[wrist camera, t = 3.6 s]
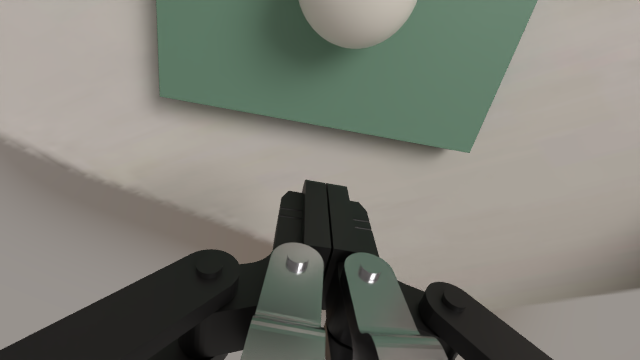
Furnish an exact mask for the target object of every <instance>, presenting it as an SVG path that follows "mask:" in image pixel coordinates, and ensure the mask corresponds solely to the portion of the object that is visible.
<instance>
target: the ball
mask: <svg viewBox="0 0 640 360" xmlns="http://www.w3.org/2000/svg"><path fill="white" fill-rule="evenodd" d="M416 3H417V0H299V4H300V7H301V9H302V12H303V14H304V16H305V18H306V20H307V21H308V23H309V24H310V26H311V27H312V28H313V29H314V30H315V31H316V32H317V33H318V34H319V35H320V36H321V37H322V38H324V39H325V40H327V41H328V42H330V43H332V44H335V45H337V46H340V47H344V48H350V49H361V48H368V47H371V46H375V45H377V44H379V43H381V42H383V41H385V40H386V39H388V38H389V37H391V36H392V35H393V34H395V33H396V32H397V31H398V30H399V29H400V28H401V27H402V26H403V24H404V23H405V22H406V21H407V19H408V18H409V16H410V15H411V13H412V11H413V9H414V7H415V5H416Z"/></svg>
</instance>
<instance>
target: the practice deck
mask: <svg viewBox="0 0 640 360" xmlns="http://www.w3.org/2000/svg"><path fill="white" fill-rule="evenodd" d="M537 1H538V0H417V3H416V5H415V7H414V9H413V11H412V13H411V15H410V16H409V18H408V19H407V21H406V22H405V23H404V24H403V26H402V27H401V28H400V29H399V30H398V31H397V32H396V33H395V34H393V35H392V36H391V37H389V38H388V39H386V40H385V41H383V42H381V43H379V44H377V45H375V46H371V47H368V48H361V49H350V48H344V47H340V46H337V45H335V44H332V43H330V42H328V41H327V40H325V39H324V38H322V37H321V36H320V35H319V34H318V33H317V32H316V31H315V30H314V29H313V28H312V27H311V26H310V24H309V23H308V21H307V20H306V18H305V16H304V14H303V12H302V9H301V7H300V4H299V0H156V8H157V35H158V62H159V89H160V97H166V98H171V99H177V100H182V101H188V102H193V103H199V104H204V105H210V106H215V107H221V108H226V109H232V110H237V111H242V112H248V113H253V114H259V115H264V116H270V117H275V118H281V119H286V120H292V121H297V122H303V123H308V124H314V125H319V126H325V127H330V128H335V129H341V130H346V131H352V132H357V133H363V134H368V135H374V136H379V137H385V138H390V139H396V140H401V141H407V142H412V143H418V144H423V145H428V146H434V147H439V148H445V149H450V150H456V151H461V152H467V153H470V151H471V148H472V146H473V144H474V142H475V139H476V137H477V135H478V133H479V130H480V128H481V126H482V124H483V122H484V119H485V117H486V115H487V113H488V110H489V108H490V106H491V104H492V101H493V99H494V97H495V95H496V92H497V90H498V88H499V86H500V83H501V81H502V79H503V77H504V74H505V72H506V70H507V68H508V66H509V63H510V61H511V59H512V57H513V54H514V52H515V50H516V48H517V45H518V43H519V41H520V39H521V36H522V34H523V32H524V30H525V27H526V25H527V23H528V21H529V18H530V16H531V14H532V12H533V9H534V7H535V5H536V3H537Z"/></svg>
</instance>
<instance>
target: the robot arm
mask: <svg viewBox="0 0 640 360" xmlns="http://www.w3.org/2000/svg"><path fill="white" fill-rule="evenodd" d="M321 309H322V310H326V321H325V325H324V327H323V328H322V327H321ZM240 350H243V353H242V356H241V360H455V358H456V357H457V355H458V354H459V355H460V356H461V357H462V358H463V359H465V360H553V359H552V358H550V357H549V356H548V355H546V354H545V353H544V352H542V351H541V350H540V349H538V348H537V347H536V346H535V345H533V344H532V343H531V342H529V341H528V340H527V339H526V338H524V337H523V336H522V335H520V334H519V333H518V332H517V331H515V330H514V329H513V328H511V327H510V326H509V325H507V324H506V323H505V322H504V321H502V320H501V319H499V318H498V317H497V316H496V315H494V314H493V313H492V312H491V311H489V310H488V309H487V308H485V307H484V306H483V305H481V304H480V303H479V302H478V301H476V300H475V299H474V298H472V297H471V296H470V295H468V294H467V293H466V292H464V291H463V290H462V289H460V288H458V287H456V286H454V285H452V284H449V283H445V282H434V283H431V284H430V285H429V286H428V287H427V289H426V291H425V292H424V291H421V290H419V289H416V288H414V287H411V286H409V285H406V284H404V283H402V282H400V281H398V280H397V279H396V276H395V274H394V272H393V270H392V268H391V267H390V265H389V264H388V263H387V262H385V261H384V260H383V259H381V258H379V255H378V251H377V247H376V244H375V240H374V237H373V233H372V231H371V226H370V223H369V218H368V215H367V211H366V210H365V209H364V208H363V207H362V206H361V204H360V203H359V202H354V201H350V200H349V195H348V190H347V187H345V186H340V185H334V184H328V183H326V184H325V183H322V182H316V181H310V180H305V182H304V186H303V191H302V193H299V192H293V191H288V192H287V193H286V194H285V195H284V196H283V197H282V199H281V204H280V210H279V215H278V221H277V226H276V232H275V238H274V245H273V251H272V252H271V254H270V255H269V256H267V257H266V258H264V259H263V260H260V261H257V262H254V263H248V264H238V261H237V260H236V259H235V258H234V257H233V256H232V255H230V254H228V253H226V252H224V251H220V250H212V249H211V250H201V251H198V252H195V253H192V254H190V255H188V256H186V257H184V258H182V259H180V260H178V261H176V262H174V263H172V264H170V265H168V266H166V267H164V268H162V269H160V270H158V271H156V272H155V273H153V274H150V275H148V276H146V277H144V278H142V279H140V280H138V281H136V282H135V283H133V284H131V285H129V286H127V287H125V288H123V289H121V290H119V291H117V292H115V293H113V294H111V295H109V296H107V297H105V298H103V299H101V300H99V301H97V302H95V303H93V304H91V305H89V306H87V307H85V308H83V309H81V310H79V311H77V312H75V313H73V314H71V315H69V316H67V317H65V318H63V319H61V320H59V321H57V322H55V323H53V324H51V325H49V326H47V327H45V328H43V329H41V330H39V331H37V332H36V333H34V334H32V335H29V336H28V337H25V338H24V339H22V340H20V341H18V342H16V343H14V344H12V345H10V346H8V347H6V348H4V349H2V350H0V360H224V359H225V357H226V356H227V355H228V353H231V352H236V351H240Z"/></svg>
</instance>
